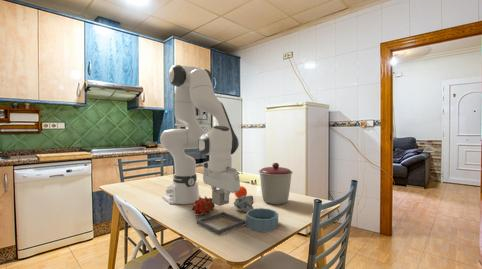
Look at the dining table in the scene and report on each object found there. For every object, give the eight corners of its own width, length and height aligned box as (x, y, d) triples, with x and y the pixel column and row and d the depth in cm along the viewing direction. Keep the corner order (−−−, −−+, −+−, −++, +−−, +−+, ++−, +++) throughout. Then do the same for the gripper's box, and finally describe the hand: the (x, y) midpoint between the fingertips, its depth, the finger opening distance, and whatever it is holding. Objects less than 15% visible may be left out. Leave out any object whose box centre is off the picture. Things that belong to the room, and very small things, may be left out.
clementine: (239, 201, 130) (239, 188, 130) (230, 198, 135) (230, 186, 135) (249, 198, 136) (249, 185, 136) (240, 195, 141) (240, 183, 141)
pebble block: (212, 202, 101) (212, 190, 100) (221, 200, 104) (221, 188, 104) (219, 205, 97) (219, 193, 97) (228, 203, 100) (229, 191, 100)
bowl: (239, 224, 100) (239, 213, 100) (260, 216, 109) (260, 206, 109) (263, 234, 91) (263, 222, 91) (284, 224, 100) (284, 214, 100)
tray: (196, 223, 101) (196, 219, 100) (223, 214, 110) (223, 211, 110) (218, 235, 90) (218, 230, 90) (245, 224, 100) (245, 220, 100)
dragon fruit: (217, 215, 115) (193, 224, 108) (209, 201, 120) (186, 209, 113) (220, 204, 110) (196, 213, 103) (212, 190, 115) (188, 198, 108)
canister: (275, 195, 143) (275, 159, 142) (299, 203, 128) (300, 163, 128) (251, 200, 132) (251, 162, 131) (275, 209, 118) (275, 166, 117)
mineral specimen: (240, 221, 115) (252, 210, 123) (248, 214, 110) (260, 203, 118) (227, 205, 118) (240, 195, 125) (234, 198, 113) (247, 188, 120)
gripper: (244, 168, 94) (243, 203, 95) (212, 161, 109) (211, 191, 110) (231, 170, 90) (231, 206, 91) (200, 162, 105) (200, 194, 105)
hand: (220, 198), depth 100 cm, fingers closed on pebble block, 5 cm apart
